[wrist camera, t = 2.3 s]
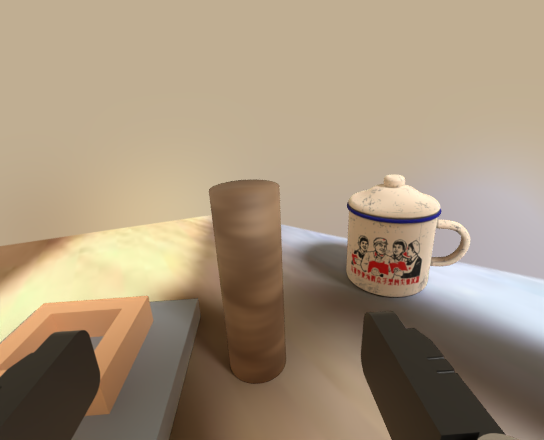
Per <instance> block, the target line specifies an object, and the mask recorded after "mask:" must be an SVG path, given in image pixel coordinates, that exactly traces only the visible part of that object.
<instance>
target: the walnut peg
mask: <svg viewBox="0 0 544 440" xmlns="http://www.w3.org/2000/svg"><path fill="white" fill-rule="evenodd" d="M209 196H210V204H211V211H212V220H213V228H214V236H215V245H216V253H217V261H218V269H219V277H220V285H221V294H222V302H223V310H224V318H225V326H226V334H227V343H228V351H229V359H230V366H231V370H232V372H233V374H234V375H235V376H236V377H237V378H239V379H240V380H242V381H244V382H247V383H254V384H256V383H264V382H267V381H270V380H272V379H274V378H275V377H277V376H278V375H279V374H280V373H281V372H282V370H283V369H284V366H285V363H286V351H285V324H284V298H283V271H282V245H281V221H280V220H281V219H280V192H279V185H278V184H277V183H275V182H272V181H267V180H238V181H231V182H226V183H221V184H218V185H216V186H213V187H212V188H210V189H209Z"/></svg>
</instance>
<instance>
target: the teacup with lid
mask: <svg viewBox="0 0 544 440" xmlns="http://www.w3.org/2000/svg"><path fill="white" fill-rule="evenodd" d="M404 184H405V178H404V177H403V176H401V175H387V176H386V177H385V178H384V184H380V185H376V186H374V187H372V188H371V189H369V190H365V191H361V192H358V193H356V194H354V195H352V196H351V197H350V199H349V202H348V203H347V208H348V210H349V225H348V246H347V267H346V272H347V275H348V277H349V279H350V280H351V281H352V282H353V283H354V284H355V285H356V286H358V287H359V288H361V289H363V290H365V291H368V292H370V293H373V294H377V295H382V296H388V297H404V296H410V295H414V294H416V293H418V292H420V291H422V290H423V289H424V288H425V286H426V285H427V281H428V275H429V268H430V266H448V265H451V264H454V263H456V262H457V261H459V260H460V259H461V258H462V257H463V256H464V255H465V254H466V252H467V250H468V248H469V245H470V236H469V233H468V231H467V230H466V229H465V228H464V227H463V226H462V225H461V224H459V223H457V222H454V221H449V220H437V217H438V216H439V215H440V214H441V208H440V204H439V202H438V201H437V200H436V199H435V198H433V197H431V196H429V195H426V194H422V193H420V192H418V191H417V190H416V189H414V188H412V187H411V186H407V185H404ZM436 228H441V229H451V230H454V231H456V232H458V233H459V234H460V235H461V242H460V245H459V247H458V248H457V249H456V250H455V251H454V252H453V253H452V254H450V255H448V256H446V257H431V256H432V249H433V243H434V236H435V230H436Z"/></svg>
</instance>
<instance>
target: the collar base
mask: <svg viewBox="0 0 544 440" xmlns="http://www.w3.org/2000/svg"><path fill="white" fill-rule="evenodd" d="M200 317H201V314H200V308H199V302H198V298H197V299H184V300H170V301H156V302H149V298H148V296H139V297H126V298H112V299H98V300H84V301H70V302H56V303H44V304H43V305H42V306H41V307H40V308H38V309H37V310H35V311H34V312H33V313H32V314H31V315H30V316H29V317H28V318H27V319H26V320H25V321H24V322H22V323H21V324H20V325H19V326H18V327H17V328H16V329H15V330H14V331H13V332H12V333H11V334H9V335H8V336H7V337H6V338H5V339H4V340H3V341H2V342H1V343H0V377H1V376H2V375H3V373H4V372H5V371H6V370H7V369H8V368H10V367H11V366H13V365H14V364H16V363H17V362H18V361H20V360H21V359H23V358H24V357H26V356H27V355H29V354H30V353H34V352H35V351H36V350H37V349H38V348H39V346H40V345H41V344H42V343H43V342H44V341H45V340H46V339H47V338H48V337H49V336H50V335H51V334H52V333H54V332H61V331H76V330H85V331H87V332H88V333H89V335H90V339H91V342H92V345H93V349H94V352H95V356H96V359H97V363H98V366H99V370H100V385H99V389H98V392H97V394H96V396H95V398H94V400H93V402H92V404H91V405H90V407H89V409H88V411H87V412H86V414H85V416H84V418H83V420H82V421H81V423H80V425H79V427H78V428H77V430H76V432H75V434H74V436H73V437H72V439H71V440H169V438H170V434H171V430H172V426H173V422H174V418H175V414H176V411H177V407H178V403H179V399H180V395H181V391H182V387H183V383H184V379H185V375H186V371H187V367H188V364H189V360H190V356H191V352H192V348H193V344H194V340H195V336H196V332H197V328H198V324H199V321H200Z"/></svg>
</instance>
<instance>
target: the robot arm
mask: <svg viewBox="0 0 544 440" xmlns="http://www.w3.org/2000/svg"><path fill="white" fill-rule="evenodd" d="M361 362H362V368H363V372H364V375H365V378H366V380H367V383H368V385H369V387H370V390H371V392H372V394H373V397H374V399H375V401H376V404H377V406H378V408H379V411H380V413H381V415H382V418H383V420H384V423H385V425H386V427H387V430H388V432H389V434H390V437H391V439H392V440H519V439H517V438H514V437H511V436H508V435H506V434H505V433H504V432H503V431H502V430H501V428H500V427H499V426H498V424H497V423H496V422H495V421H494V419H493V418H492V417H491V416H490V414H489V413H488V412H487V411H486V409H485V408H484V407H483V405H482V404H481V403H480V402H479V400H478V399H477V398H476V397H475V395H474V394H473V393H472V392H471V390H470V389H469V388H468V386H467V385H466V384H465V383H464V381H463V380H462V379H461V378H460V376H459V375H458V374H457V373H455V372H454V369H453V367H452V366H451V365H450V364H449V362H448V361H447V360H446V359H444V356H443V355H442V353H441V352H440V351H439V350H438V348H437V347H436V346H435V345H434V343H433V342H432V341H431V340H430V339H428V338H427V337H426V336H424V335H423V334H422V333H420V332H419V331H417V330H416V329H415V328H408V329H406V328H405V327H404V325H403V324H402V322H401V321H400V320H399V318H398V317H397V315H396V314H395V313H394V312H393V311H384V312H369V313H366V314H365V316H364V324H363V336H362V348H361ZM99 385H100V370H99V366H98V363H97V359H96V356H95V352H94V349H93V345H92V342H91V339H90V335H89V333H88V332H87V331H85V330H76V331H61V332H54V333H52V334H51V335H50V336H49V337H48V338H47V339H46V340H45V341H44V342H43V343H42V344H41V345H40V346H39V348H38V349H37V350H36V351H35V352H34V353H30V354H29V355H27V356H26V357H24V358H23V359H21V360H20V361H18V362H17V363H16V364H14V365H13V366H11V367H10V368H8V369H7V370H6V371H5V372H4V373H3V375H2V376H1V377H0V440H71V439H72V437H73V436H74V434H75V432H76V430H77V428H78V427H79V425H80V423H81V421H82V420H83V418H84V416H85V414H86V412H87V411H88V409H89V407H90V405H91V404H92V402H93V400H94V398H95V396H96V394H97V392H98V389H99Z"/></svg>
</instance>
